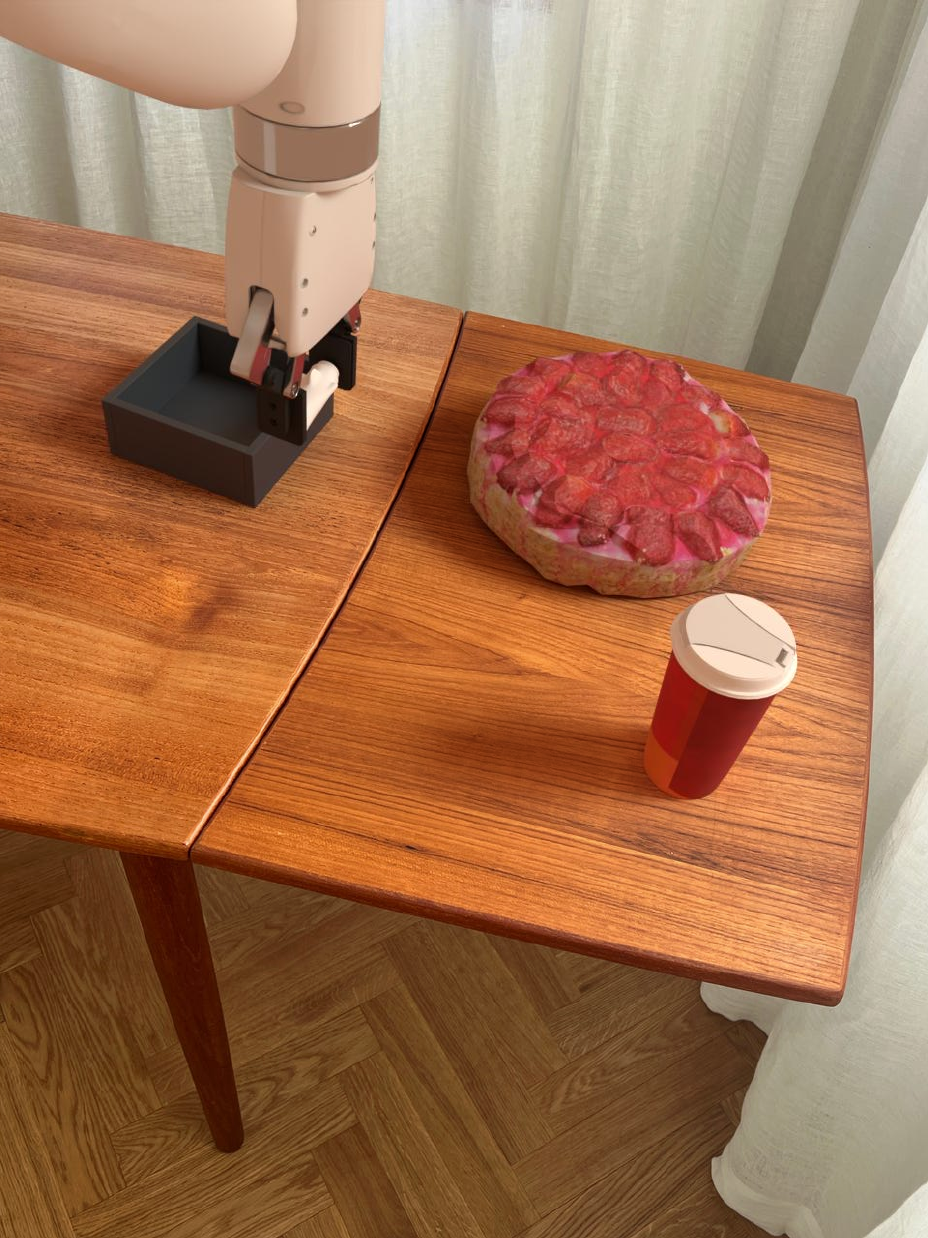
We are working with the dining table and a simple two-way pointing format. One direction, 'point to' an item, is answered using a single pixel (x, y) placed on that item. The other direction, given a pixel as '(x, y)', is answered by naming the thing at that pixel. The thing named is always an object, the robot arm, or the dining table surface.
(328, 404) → the bin
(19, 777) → the dining table surface
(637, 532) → the cake
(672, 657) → the paper cup
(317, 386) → the small white plastic part
